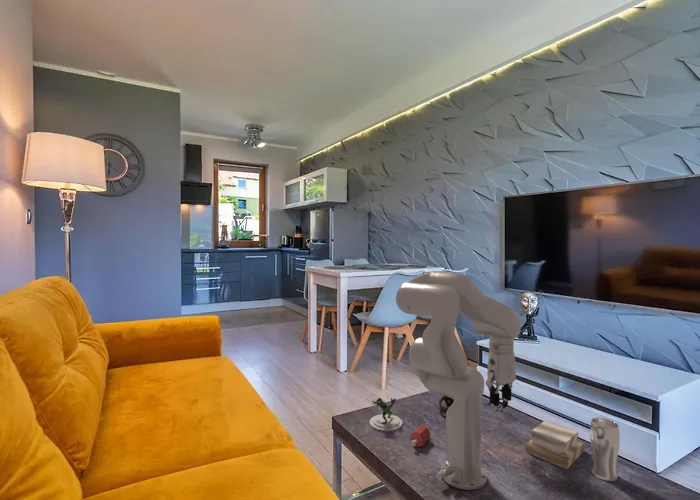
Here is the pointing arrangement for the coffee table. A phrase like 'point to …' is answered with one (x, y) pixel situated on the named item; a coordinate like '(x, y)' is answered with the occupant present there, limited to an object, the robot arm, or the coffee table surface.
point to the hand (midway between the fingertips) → (500, 401)
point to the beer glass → (604, 448)
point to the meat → (420, 436)
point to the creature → (501, 404)
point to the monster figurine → (385, 417)
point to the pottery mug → (448, 402)
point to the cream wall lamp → (555, 444)
